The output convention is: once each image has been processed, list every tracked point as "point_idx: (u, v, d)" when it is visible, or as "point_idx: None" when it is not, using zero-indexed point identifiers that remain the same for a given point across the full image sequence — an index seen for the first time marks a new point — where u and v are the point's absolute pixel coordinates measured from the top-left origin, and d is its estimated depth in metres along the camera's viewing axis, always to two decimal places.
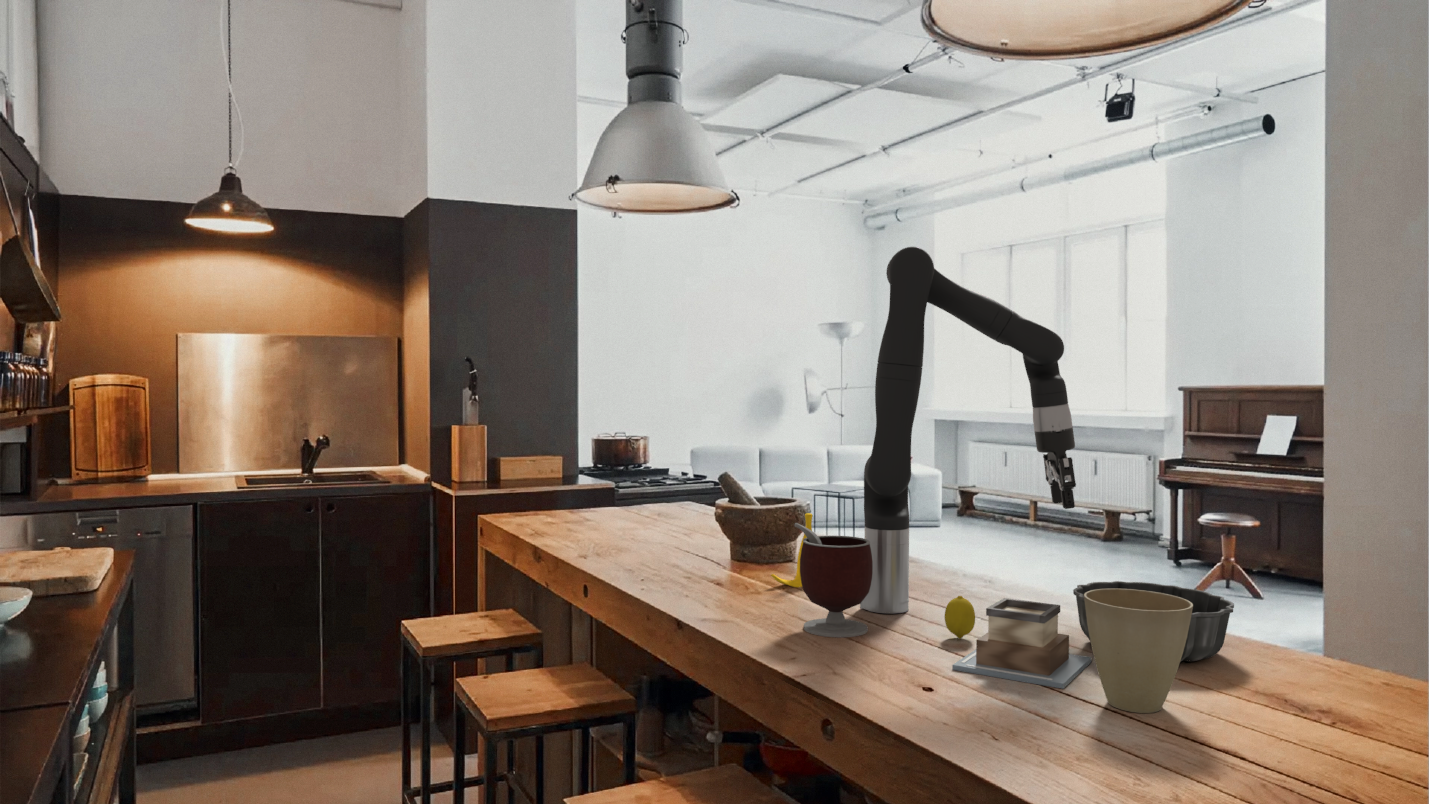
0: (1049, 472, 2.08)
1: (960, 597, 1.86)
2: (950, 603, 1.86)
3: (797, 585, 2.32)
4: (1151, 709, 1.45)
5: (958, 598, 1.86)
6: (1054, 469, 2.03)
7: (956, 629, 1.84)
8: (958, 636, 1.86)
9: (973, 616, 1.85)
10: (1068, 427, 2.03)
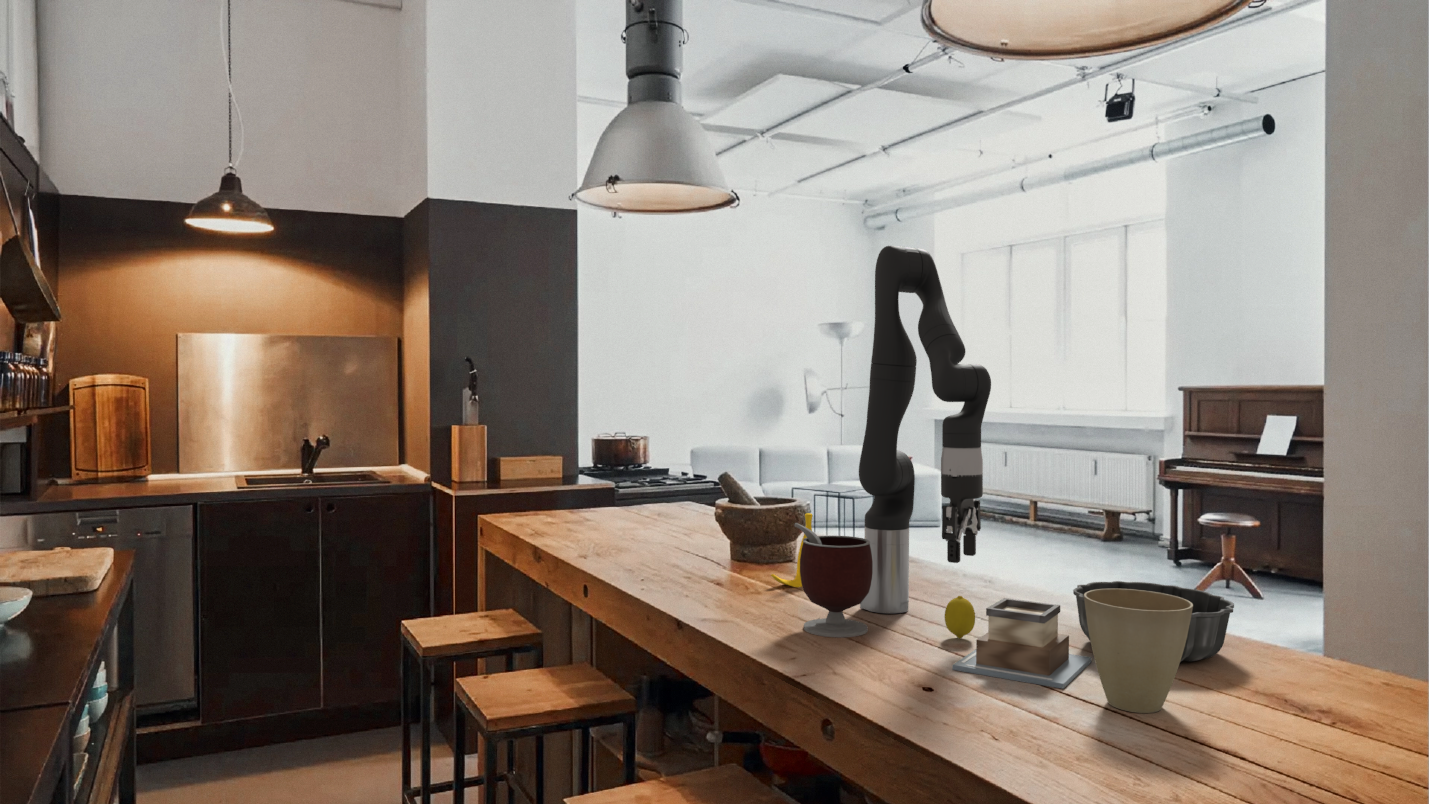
0: None
1: (960, 597, 1.86)
2: (950, 603, 1.86)
3: (797, 585, 2.32)
4: (1151, 709, 1.45)
5: (958, 598, 1.86)
6: None
7: (956, 629, 1.84)
8: (958, 636, 1.86)
9: (973, 616, 1.85)
10: (968, 474, 1.82)
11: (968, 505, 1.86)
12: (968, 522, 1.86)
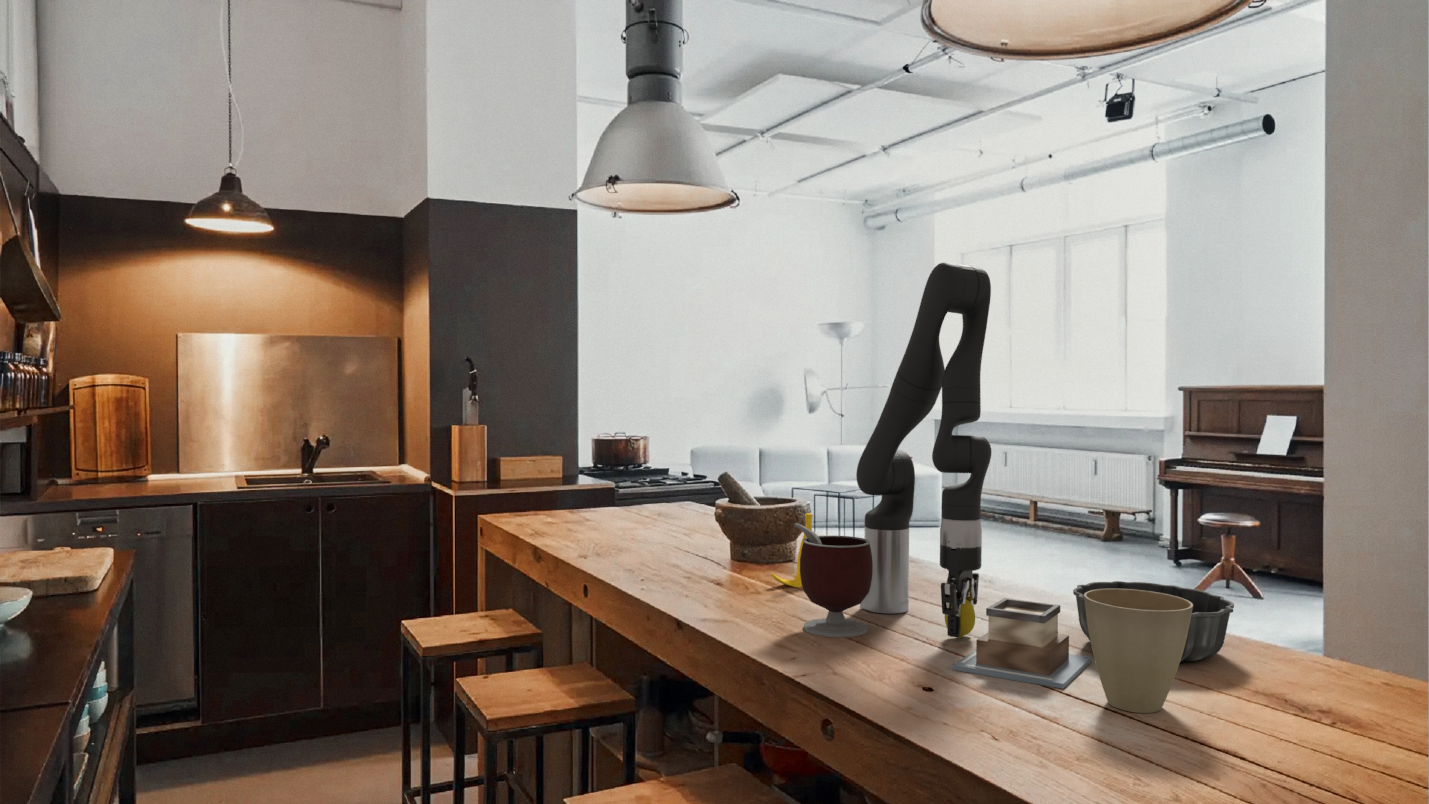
0: None
1: None
2: None
3: (797, 585, 2.32)
4: (1151, 709, 1.45)
5: (958, 598, 1.86)
6: None
7: None
8: None
9: (973, 616, 1.85)
10: (967, 546, 1.82)
11: (967, 576, 1.86)
12: (966, 593, 1.86)
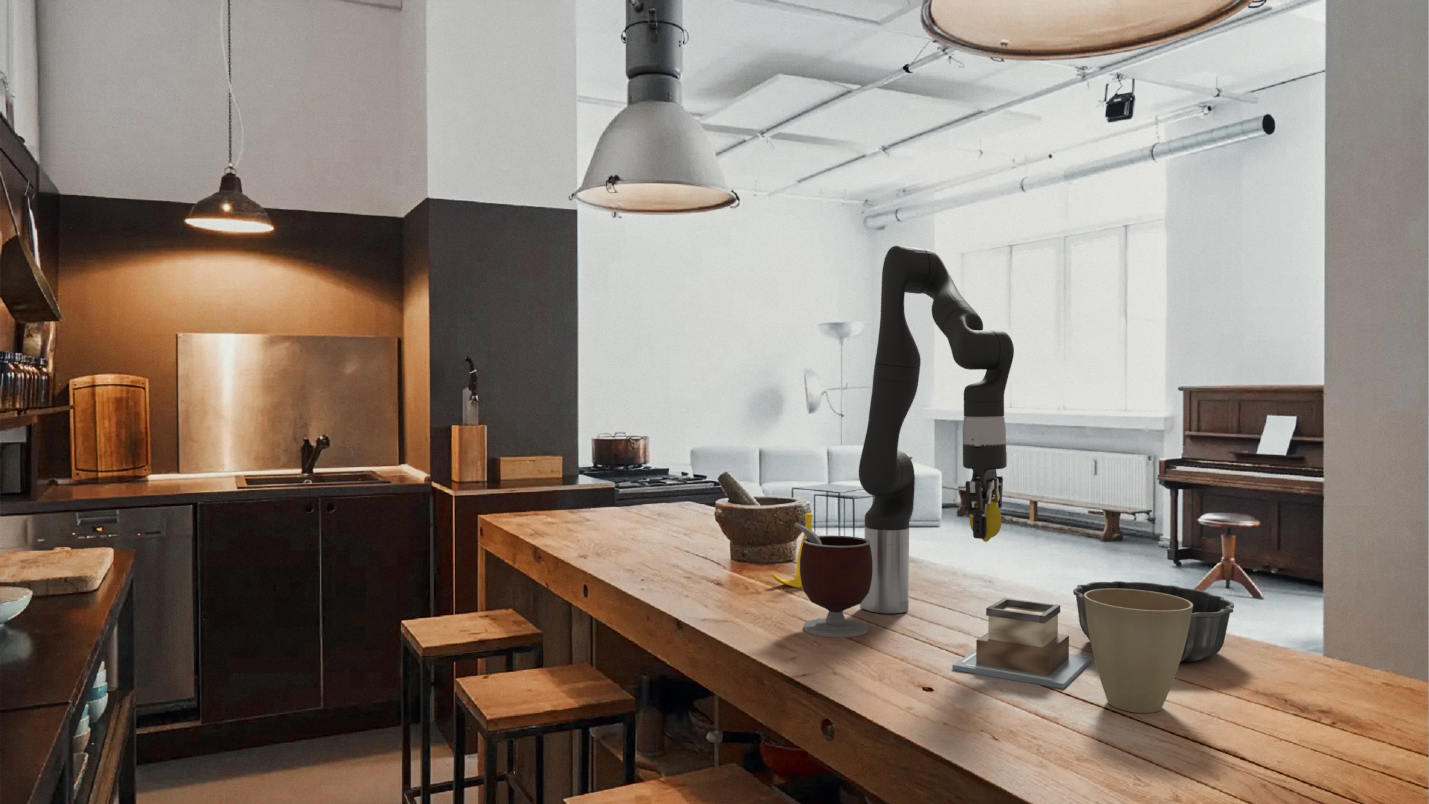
0: None
1: None
2: None
3: (797, 585, 2.32)
4: (1151, 709, 1.45)
5: None
6: None
7: None
8: (984, 539, 1.79)
9: (1000, 517, 1.78)
10: (991, 443, 1.76)
11: (991, 476, 1.79)
12: (991, 494, 1.79)
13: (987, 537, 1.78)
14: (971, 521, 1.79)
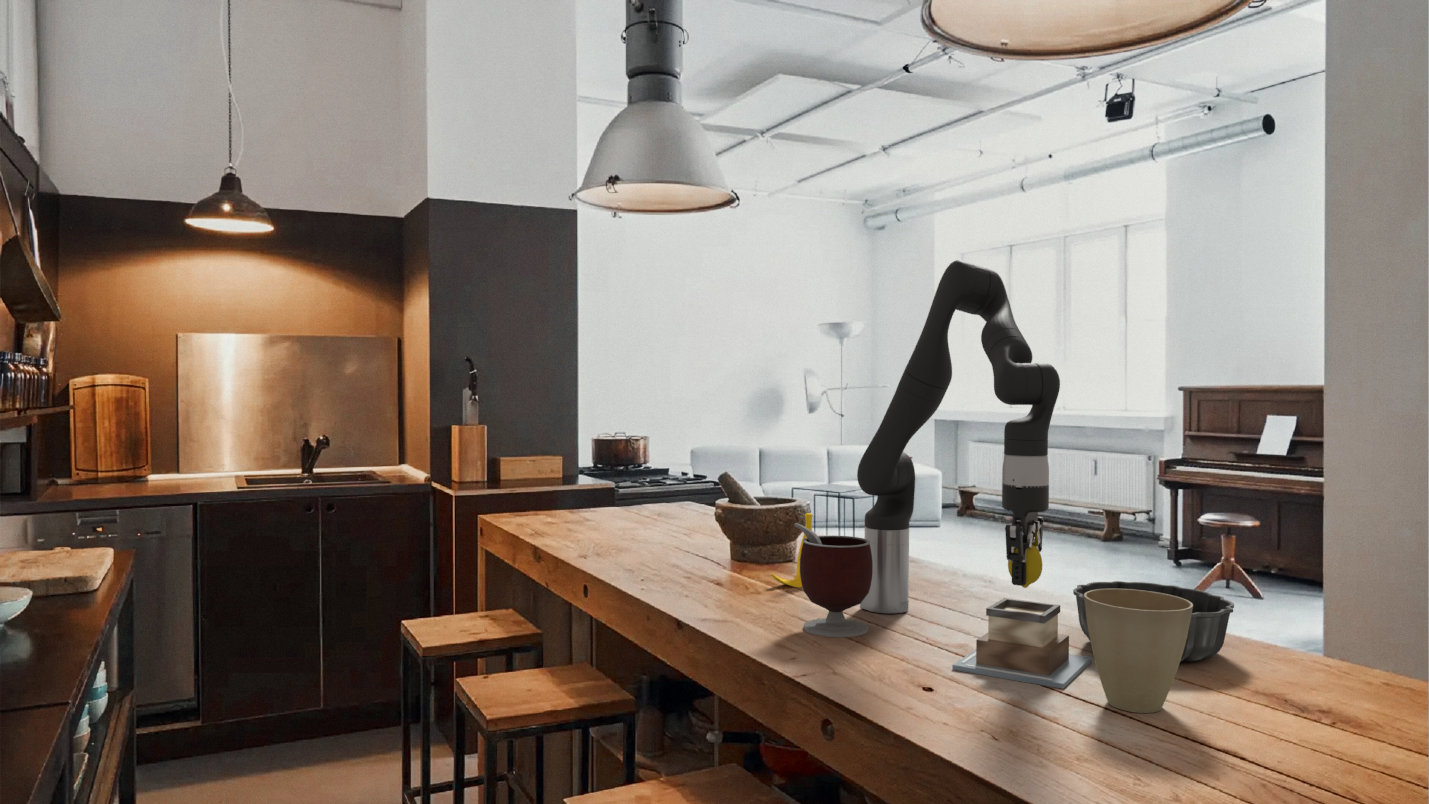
0: None
1: None
2: None
3: (797, 585, 2.32)
4: (1151, 709, 1.45)
5: (1023, 543, 1.68)
6: None
7: None
8: None
9: (1041, 563, 1.67)
10: (1034, 485, 1.65)
11: (1032, 519, 1.68)
12: None
13: (1027, 583, 1.67)
14: (1010, 566, 1.68)
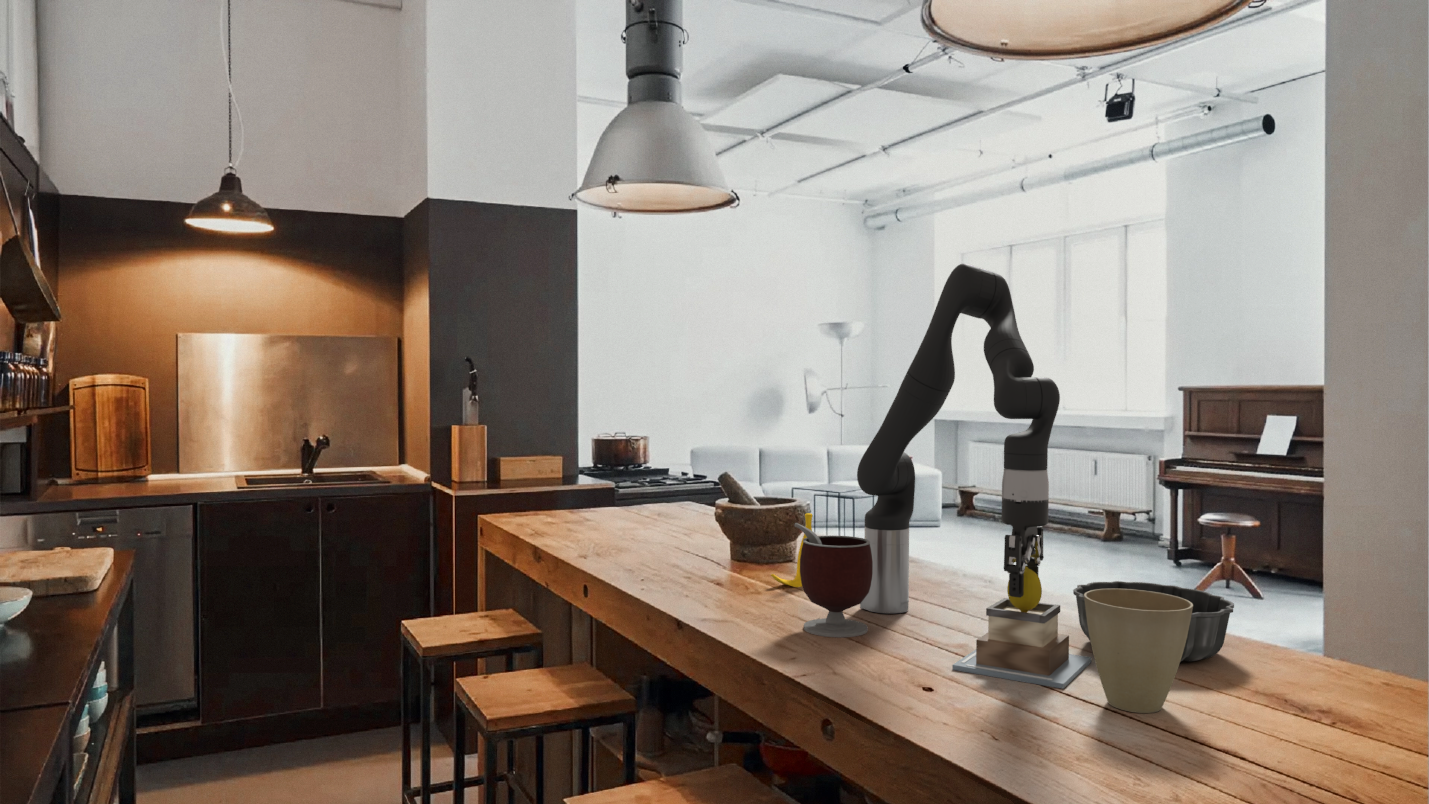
0: None
1: (1025, 567, 1.68)
2: None
3: (797, 585, 2.32)
4: (1151, 709, 1.45)
5: None
6: None
7: (1021, 602, 1.67)
8: (1023, 610, 1.68)
9: (1040, 589, 1.67)
10: (1033, 499, 1.65)
11: (1032, 533, 1.68)
12: (1031, 552, 1.68)
13: (1026, 609, 1.68)
14: None
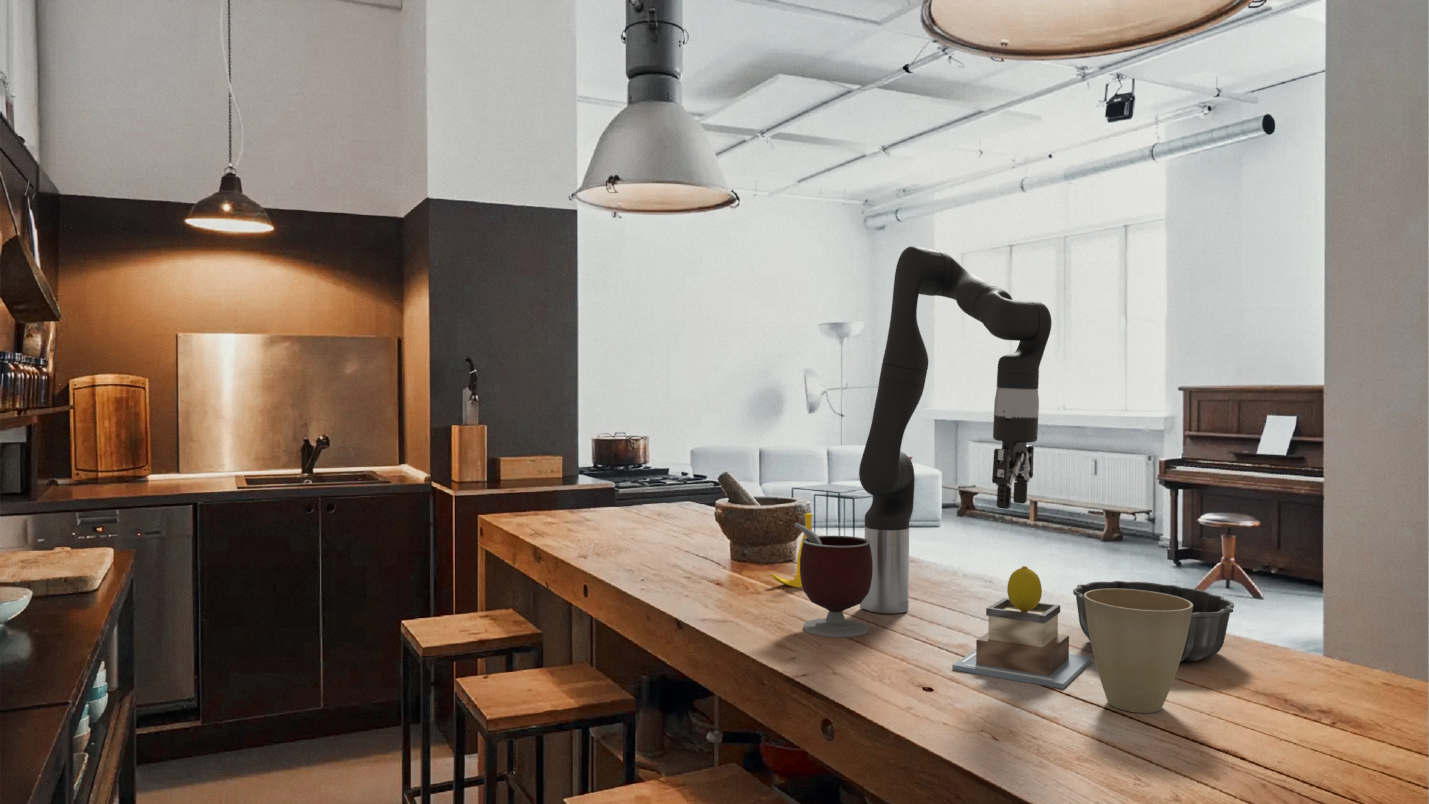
0: None
1: (1025, 567, 1.68)
2: (1014, 574, 1.68)
3: (797, 585, 2.32)
4: (1151, 709, 1.45)
5: (1023, 569, 1.68)
6: None
7: (1021, 602, 1.67)
8: (1023, 611, 1.68)
9: (1040, 589, 1.67)
10: (1023, 416, 1.73)
11: (1021, 449, 1.77)
12: (1020, 467, 1.77)
13: (1026, 609, 1.68)
14: (1009, 591, 1.68)
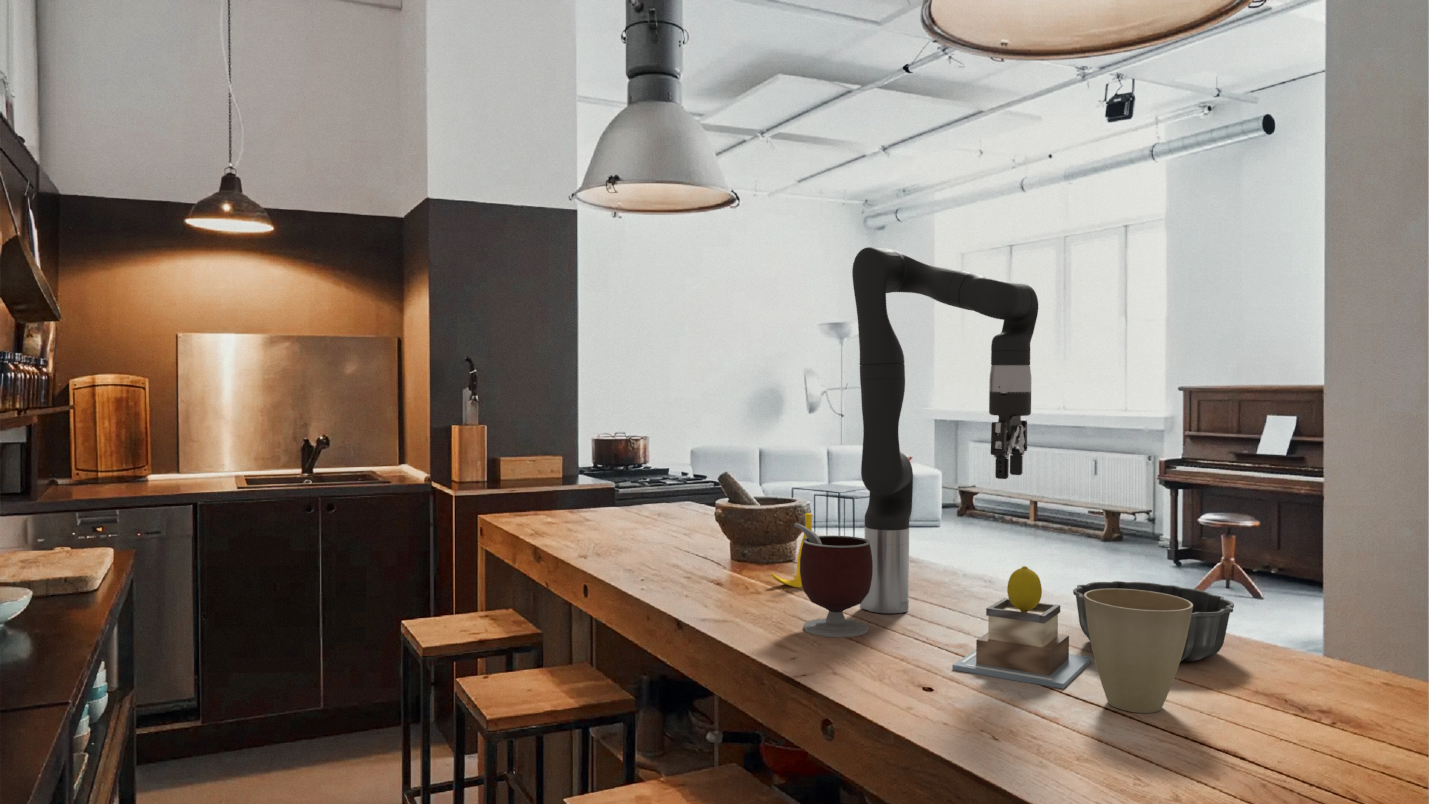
0: None
1: (1025, 567, 1.68)
2: (1014, 574, 1.68)
3: (797, 585, 2.32)
4: (1151, 709, 1.45)
5: (1023, 569, 1.68)
6: (996, 434, 1.85)
7: (1021, 602, 1.67)
8: (1023, 611, 1.68)
9: (1040, 589, 1.67)
10: (1017, 390, 1.83)
11: (1016, 423, 1.86)
12: (1016, 440, 1.86)
13: (1026, 609, 1.68)
14: (1009, 591, 1.68)
